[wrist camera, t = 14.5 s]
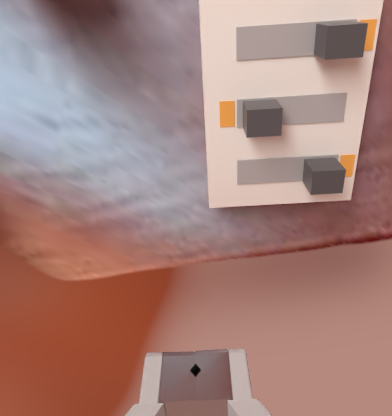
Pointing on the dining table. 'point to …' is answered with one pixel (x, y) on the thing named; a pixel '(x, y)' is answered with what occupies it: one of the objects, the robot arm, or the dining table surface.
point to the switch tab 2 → (340, 40)
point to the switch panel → (280, 96)
